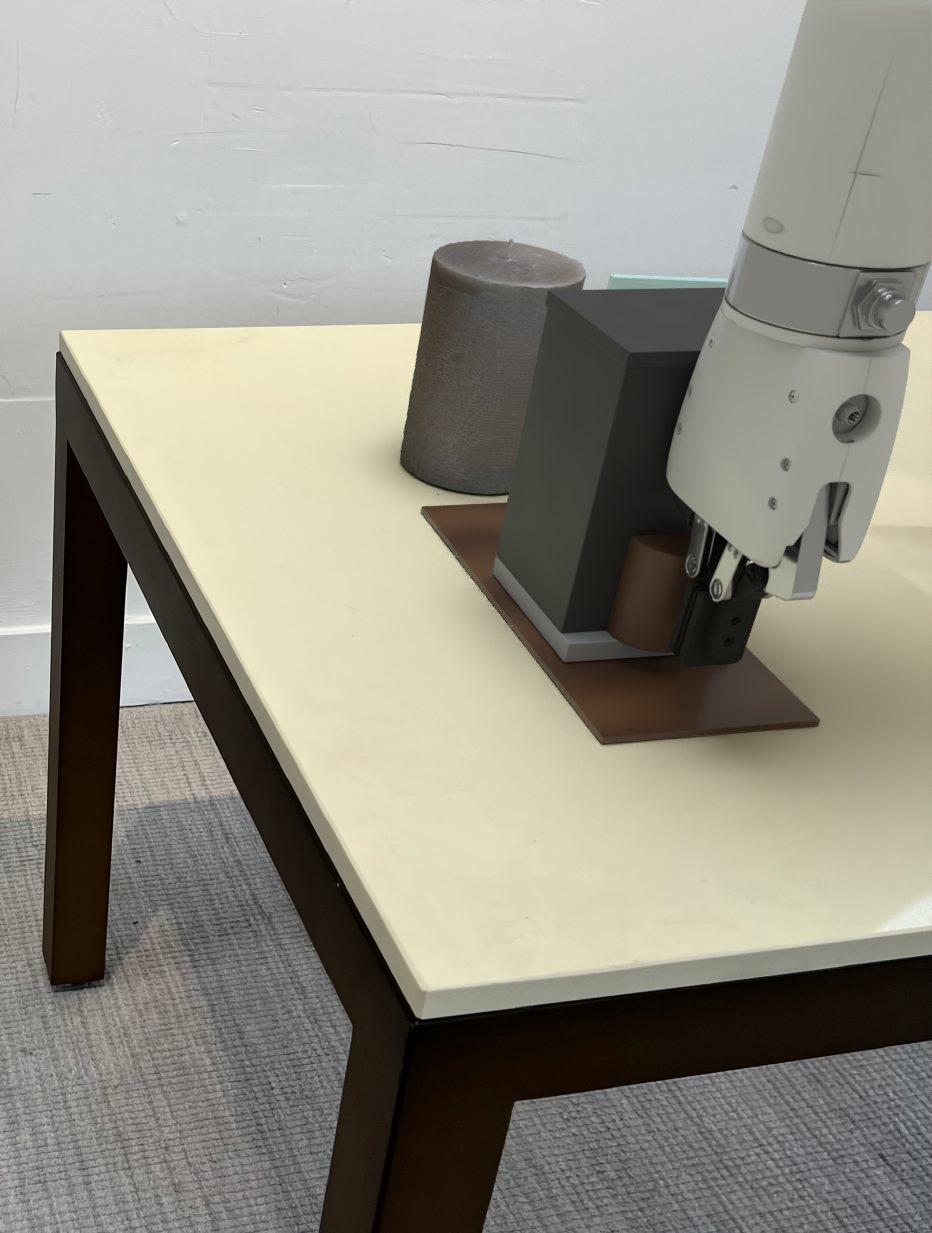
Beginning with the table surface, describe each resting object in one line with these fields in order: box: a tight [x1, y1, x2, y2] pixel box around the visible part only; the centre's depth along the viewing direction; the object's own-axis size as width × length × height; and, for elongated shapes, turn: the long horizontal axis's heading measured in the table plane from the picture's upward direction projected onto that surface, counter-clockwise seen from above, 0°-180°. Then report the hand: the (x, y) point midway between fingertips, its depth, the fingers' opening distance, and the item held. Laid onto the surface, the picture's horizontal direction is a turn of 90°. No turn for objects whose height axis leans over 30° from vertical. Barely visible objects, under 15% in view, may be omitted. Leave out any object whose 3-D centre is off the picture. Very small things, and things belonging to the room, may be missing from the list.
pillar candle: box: [399, 238, 587, 495], centre depth 91 cm, size 10×10×15 cm
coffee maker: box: [492, 288, 751, 662], centre depth 74 cm, size 12×10×16 cm
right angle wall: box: [606, 273, 729, 289], centre depth 106 cm, size 12×12×8 cm
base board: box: [420, 501, 821, 745], centre depth 80 cm, size 26×12×1 cm, turn 11°
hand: (703, 656), depth 70 cm, fingers closed
